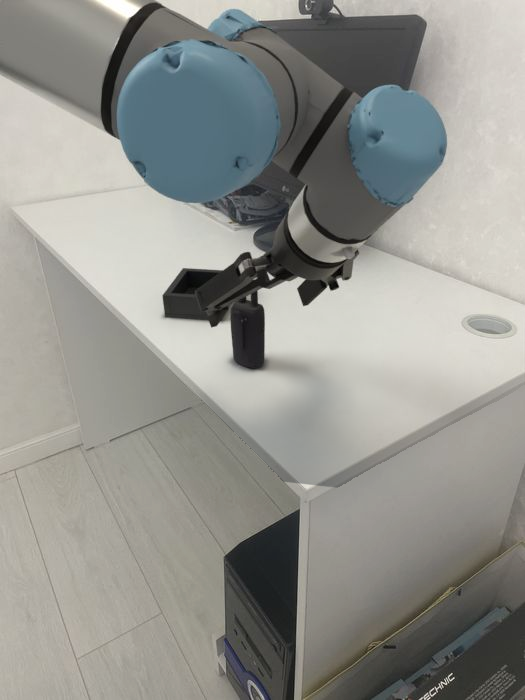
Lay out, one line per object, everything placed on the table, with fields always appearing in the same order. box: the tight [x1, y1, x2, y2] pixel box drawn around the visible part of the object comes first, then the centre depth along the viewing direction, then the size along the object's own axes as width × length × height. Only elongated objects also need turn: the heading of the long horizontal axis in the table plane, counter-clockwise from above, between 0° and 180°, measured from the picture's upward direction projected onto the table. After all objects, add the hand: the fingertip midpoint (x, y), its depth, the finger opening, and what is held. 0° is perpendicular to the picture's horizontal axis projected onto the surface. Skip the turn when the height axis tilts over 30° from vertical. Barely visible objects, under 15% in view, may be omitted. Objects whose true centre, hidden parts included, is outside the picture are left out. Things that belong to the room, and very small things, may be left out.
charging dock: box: [161, 267, 230, 322], centre depth 95 cm, size 10×12×4 cm
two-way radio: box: [230, 290, 266, 369], centre depth 75 cm, size 6×4×15 cm
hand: (258, 306), depth 70 cm, fingers open, 13 cm apart
